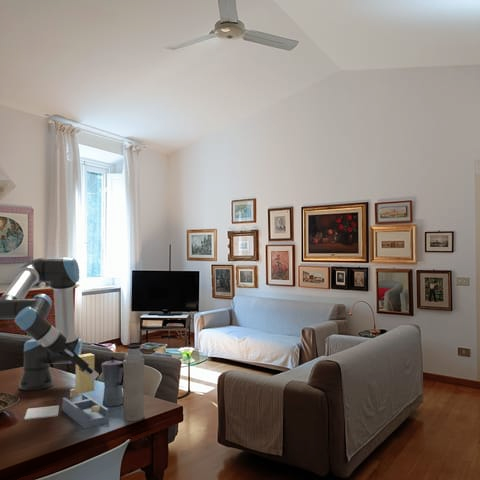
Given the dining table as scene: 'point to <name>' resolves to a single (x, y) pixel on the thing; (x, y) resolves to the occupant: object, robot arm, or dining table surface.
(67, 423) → the dining table surface
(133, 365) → the thermos bottle
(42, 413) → the white square mat
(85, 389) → the tan cardboard box
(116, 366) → the moka pot
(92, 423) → the grey divided tray
